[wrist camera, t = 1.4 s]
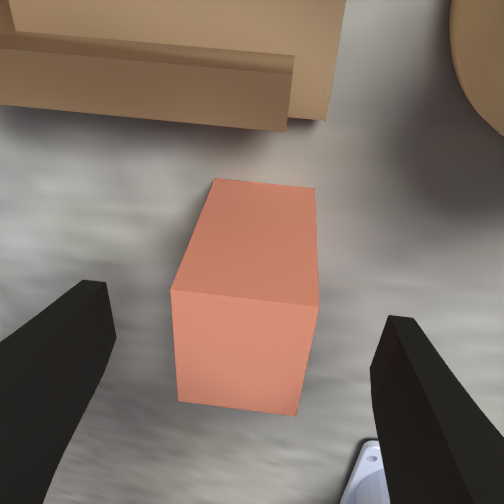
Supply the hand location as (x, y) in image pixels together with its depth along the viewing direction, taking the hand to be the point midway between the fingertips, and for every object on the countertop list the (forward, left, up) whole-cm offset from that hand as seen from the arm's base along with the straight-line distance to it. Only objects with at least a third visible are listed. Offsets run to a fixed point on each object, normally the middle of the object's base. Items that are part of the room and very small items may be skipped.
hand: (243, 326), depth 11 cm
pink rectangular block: (0, 0, -5) cm, 5 cm away
